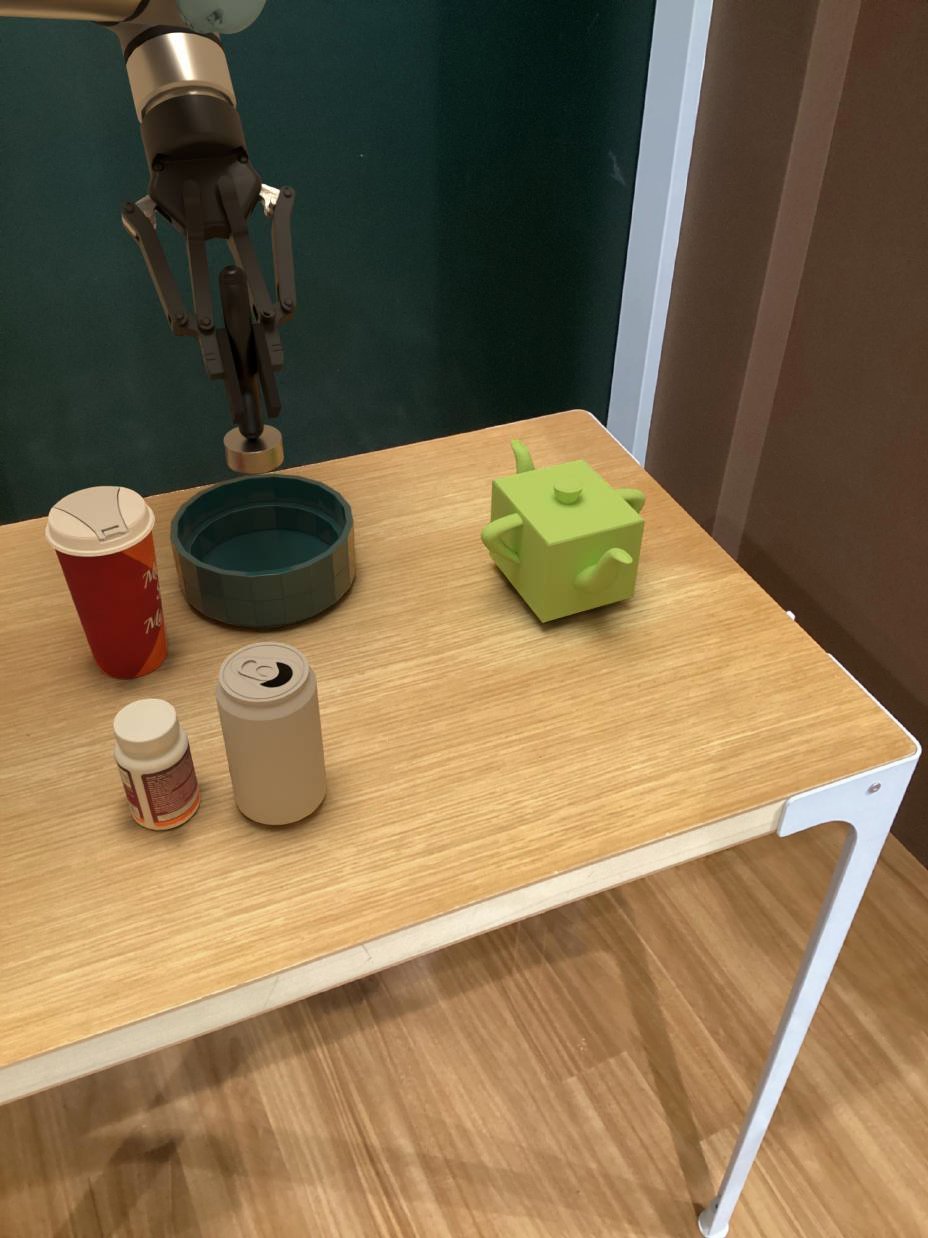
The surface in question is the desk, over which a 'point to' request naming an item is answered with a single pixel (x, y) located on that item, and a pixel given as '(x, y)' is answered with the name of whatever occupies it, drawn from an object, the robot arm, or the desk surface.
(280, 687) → the beverage can
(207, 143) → the robot arm
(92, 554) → the paper cup
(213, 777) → the desk surface
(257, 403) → the rod on base
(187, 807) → the pill bottle
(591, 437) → the desk surface
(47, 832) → the desk surface
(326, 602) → the bowl
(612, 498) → the teapot
